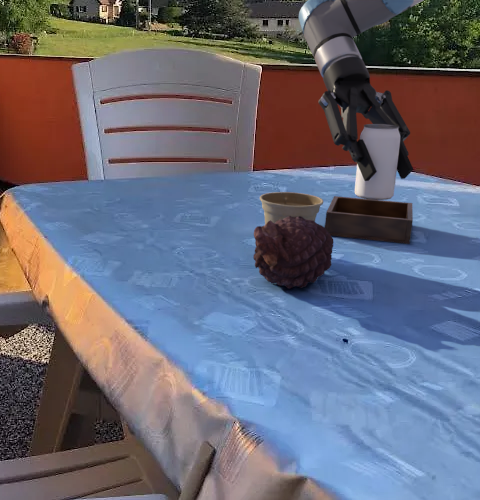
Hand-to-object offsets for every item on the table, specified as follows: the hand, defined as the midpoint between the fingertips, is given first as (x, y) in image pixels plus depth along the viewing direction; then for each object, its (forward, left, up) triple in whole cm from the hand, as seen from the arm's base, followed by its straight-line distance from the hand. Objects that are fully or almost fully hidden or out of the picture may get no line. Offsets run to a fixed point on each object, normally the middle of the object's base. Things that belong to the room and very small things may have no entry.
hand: (389, 175), depth 117 cm
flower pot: (+13, +17, -11) cm, 24 cm away
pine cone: (+10, +30, -11) cm, 34 cm away
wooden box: (+2, -3, -10) cm, 11 cm away
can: (+2, -3, -5) cm, 6 cm away
